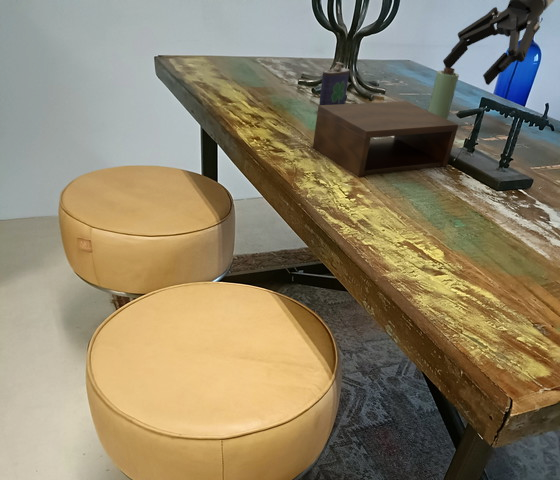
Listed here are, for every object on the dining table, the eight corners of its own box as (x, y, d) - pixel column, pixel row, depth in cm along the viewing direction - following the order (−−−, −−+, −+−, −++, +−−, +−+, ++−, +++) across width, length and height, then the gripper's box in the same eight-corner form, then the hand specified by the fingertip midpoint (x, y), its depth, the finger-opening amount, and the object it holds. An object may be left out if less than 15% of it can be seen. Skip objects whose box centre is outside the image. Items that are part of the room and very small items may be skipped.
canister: (449, 125, 137) (465, 71, 130) (434, 126, 135) (448, 71, 127) (436, 119, 140) (450, 65, 133) (420, 120, 138) (434, 66, 131)
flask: (337, 107, 140) (345, 58, 133) (347, 110, 139) (355, 61, 132) (315, 112, 134) (321, 62, 127) (324, 116, 133) (332, 65, 126)
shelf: (446, 166, 113) (458, 124, 108) (358, 176, 104) (366, 131, 99) (397, 140, 124) (406, 101, 119) (312, 147, 114) (318, 105, 109)
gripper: (579, 23, 125) (508, 99, 128) (497, 4, 141) (435, 71, 144) (574, -6, 119) (499, 73, 122) (489, -23, 135) (425, 48, 138)
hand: (464, 72), depth 133 cm, fingers open, 13 cm apart
